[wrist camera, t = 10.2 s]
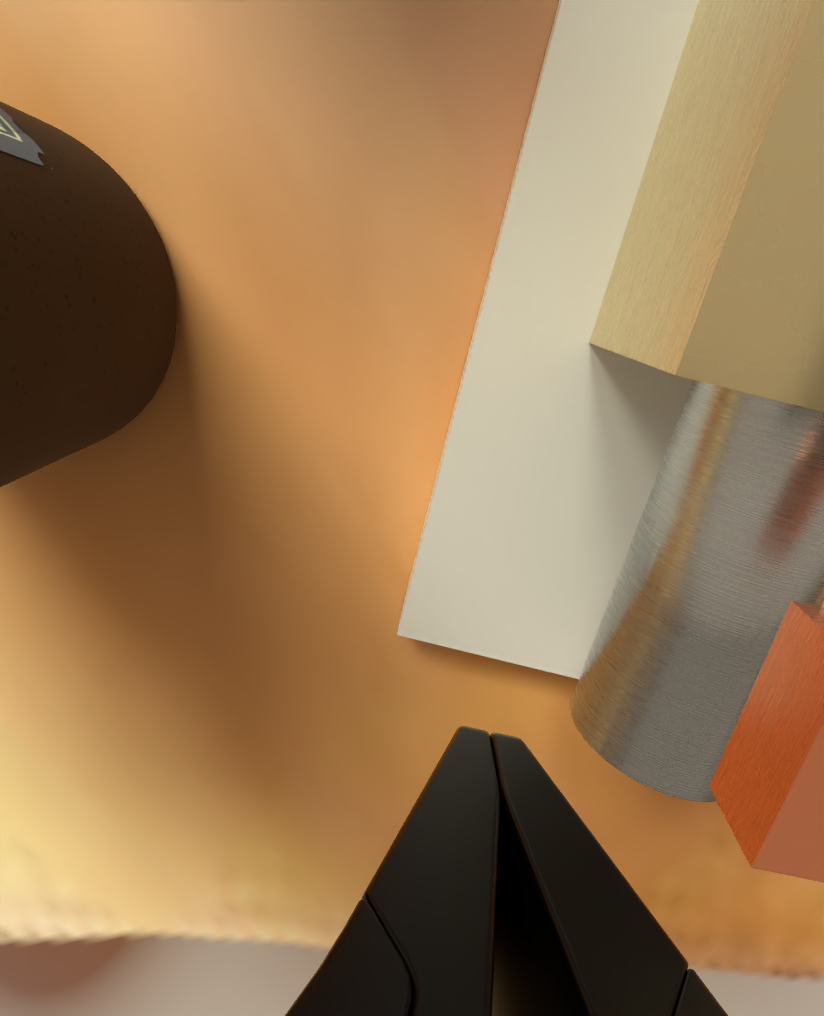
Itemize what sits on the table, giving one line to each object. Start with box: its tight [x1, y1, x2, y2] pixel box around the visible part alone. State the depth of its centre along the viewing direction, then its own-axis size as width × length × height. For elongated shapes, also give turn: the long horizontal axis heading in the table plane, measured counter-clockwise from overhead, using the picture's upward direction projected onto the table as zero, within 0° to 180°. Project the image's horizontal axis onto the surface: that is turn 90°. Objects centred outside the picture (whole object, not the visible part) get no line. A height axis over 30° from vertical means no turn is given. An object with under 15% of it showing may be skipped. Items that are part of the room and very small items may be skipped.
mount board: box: [397, 0, 699, 679], centre depth 16 cm, size 14×28×2 cm, turn 167°
